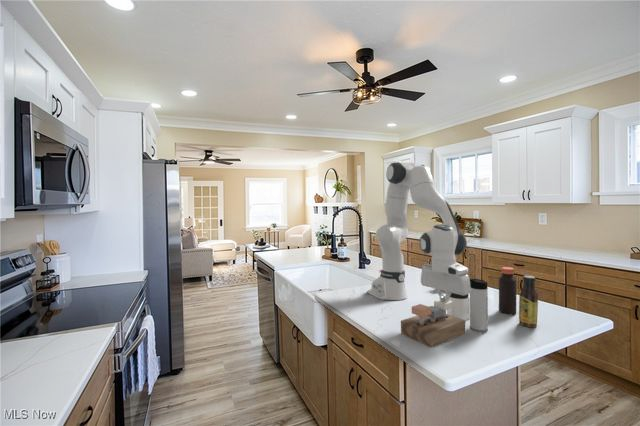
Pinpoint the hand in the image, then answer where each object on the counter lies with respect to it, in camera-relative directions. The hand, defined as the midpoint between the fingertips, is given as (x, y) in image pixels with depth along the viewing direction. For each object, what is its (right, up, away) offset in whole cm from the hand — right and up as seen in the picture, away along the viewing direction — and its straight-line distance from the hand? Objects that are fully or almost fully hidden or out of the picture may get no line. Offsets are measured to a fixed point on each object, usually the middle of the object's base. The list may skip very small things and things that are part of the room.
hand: (444, 301), depth 124 cm
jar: (+11, -11, +12) cm, 20 cm away
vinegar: (+35, -10, +17) cm, 40 cm away
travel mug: (+13, -11, -1) cm, 17 cm away
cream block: (0, -8, 0) cm, 8 cm away
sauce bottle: (+35, -11, +3) cm, 36 cm away
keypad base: (-5, -11, -3) cm, 13 cm away
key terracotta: (-11, -8, -7) cm, 15 cm away
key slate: (-6, -9, -3) cm, 11 cm away
